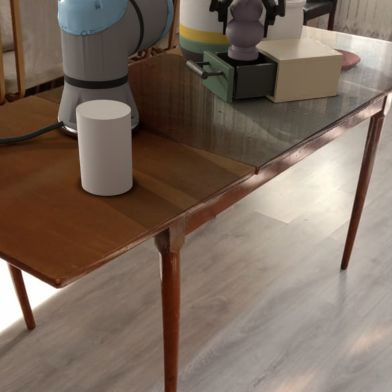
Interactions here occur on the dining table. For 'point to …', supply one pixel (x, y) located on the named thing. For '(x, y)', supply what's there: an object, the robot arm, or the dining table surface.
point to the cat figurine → (245, 29)
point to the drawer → (236, 75)
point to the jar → (286, 22)
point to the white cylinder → (105, 146)
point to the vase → (201, 30)
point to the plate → (348, 60)
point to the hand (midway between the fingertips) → (245, 30)
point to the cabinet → (303, 68)
